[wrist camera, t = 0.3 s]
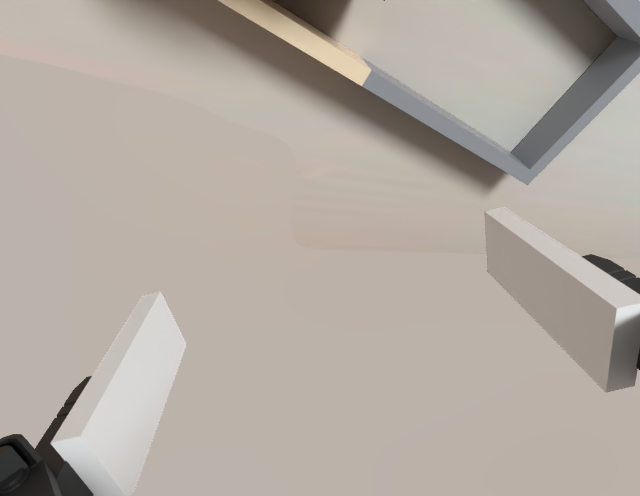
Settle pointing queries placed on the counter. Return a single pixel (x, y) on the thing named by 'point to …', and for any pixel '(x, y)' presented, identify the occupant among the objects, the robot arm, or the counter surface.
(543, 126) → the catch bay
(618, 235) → the counter surface
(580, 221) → the counter surface
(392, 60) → the counter surface
